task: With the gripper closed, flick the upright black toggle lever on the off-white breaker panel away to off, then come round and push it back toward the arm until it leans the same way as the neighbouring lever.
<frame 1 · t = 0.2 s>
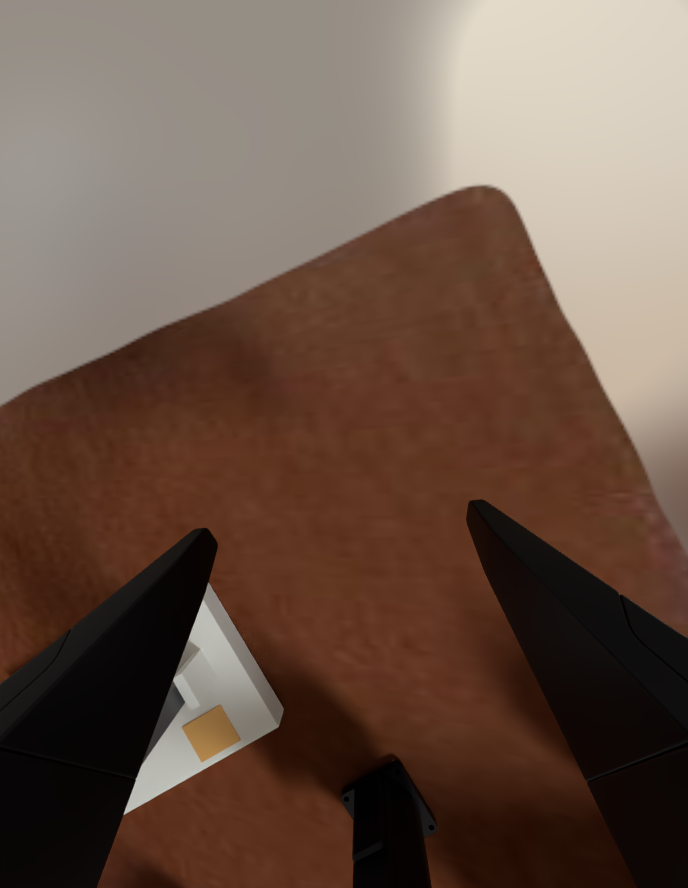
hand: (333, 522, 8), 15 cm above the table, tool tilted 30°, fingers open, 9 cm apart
breaker panel: (145, 694, 25), on the table
breaker lever: (138, 735, 19), point 6 cm above the table, hinge at 0.0°
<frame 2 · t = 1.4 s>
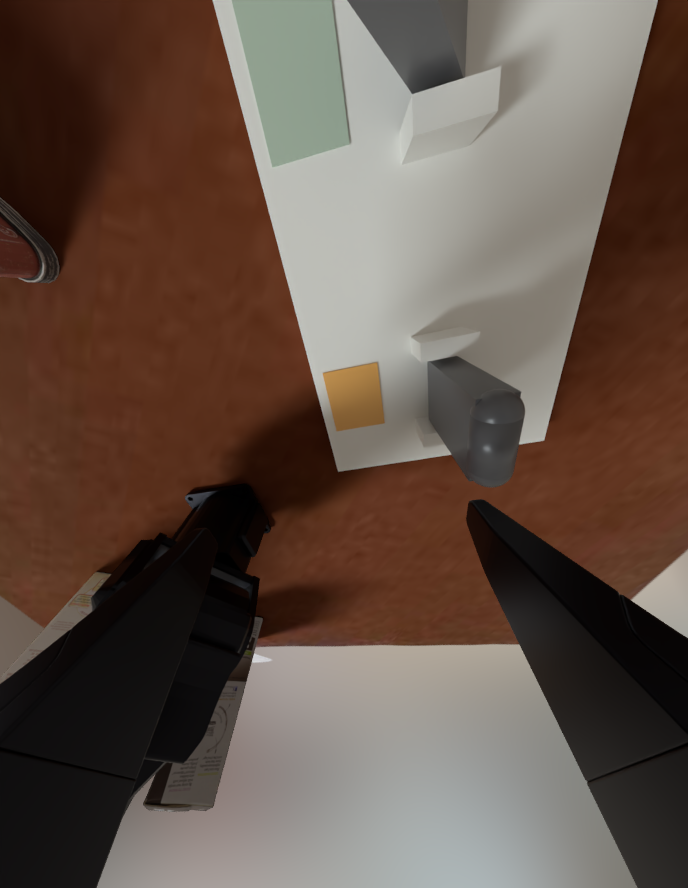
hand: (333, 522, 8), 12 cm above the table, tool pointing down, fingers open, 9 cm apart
breaker panel: (427, 280, 15), on the table
coffeecake box: (135, 602, 35), on the table
breaker lever: (461, 410, 13), point 6 cm above the table, hinge at 0.0°
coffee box: (238, 624, 39), on the table
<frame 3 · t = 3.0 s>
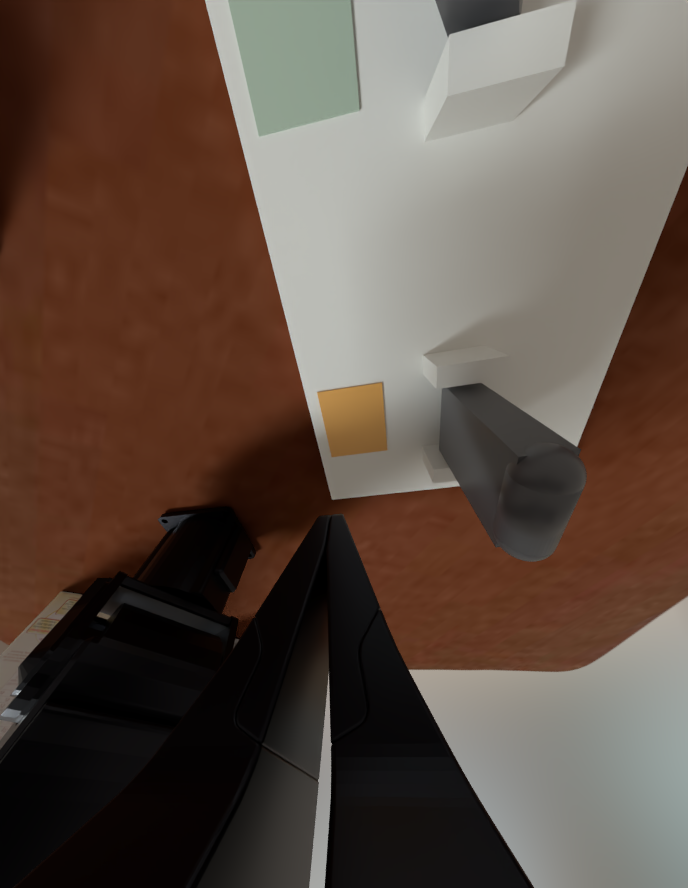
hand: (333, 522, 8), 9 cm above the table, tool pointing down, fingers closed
breaker panel: (445, 288, 12), on the table
coffeecake box: (107, 621, 32), on the table
breaker lever: (484, 450, 10), point 6 cm above the table, hinge at 0.0°
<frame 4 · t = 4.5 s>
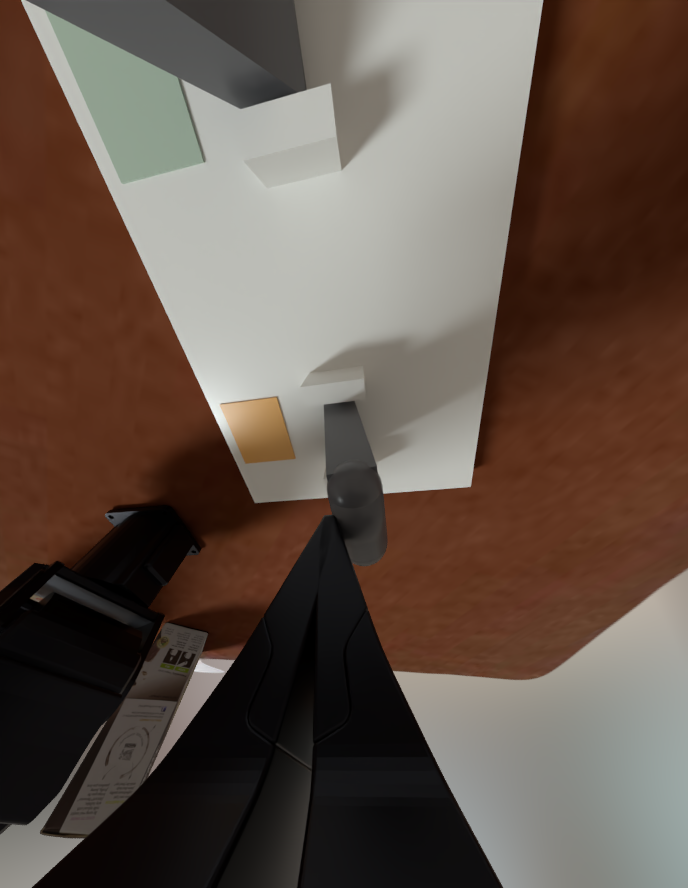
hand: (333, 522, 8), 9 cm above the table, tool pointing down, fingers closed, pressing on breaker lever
breaker panel: (329, 312, 13), on the table
breaker lever: (349, 464, 11), point 6 cm above the table, hinge at 8.1°, touching gripper
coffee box: (185, 636, 38), on the table
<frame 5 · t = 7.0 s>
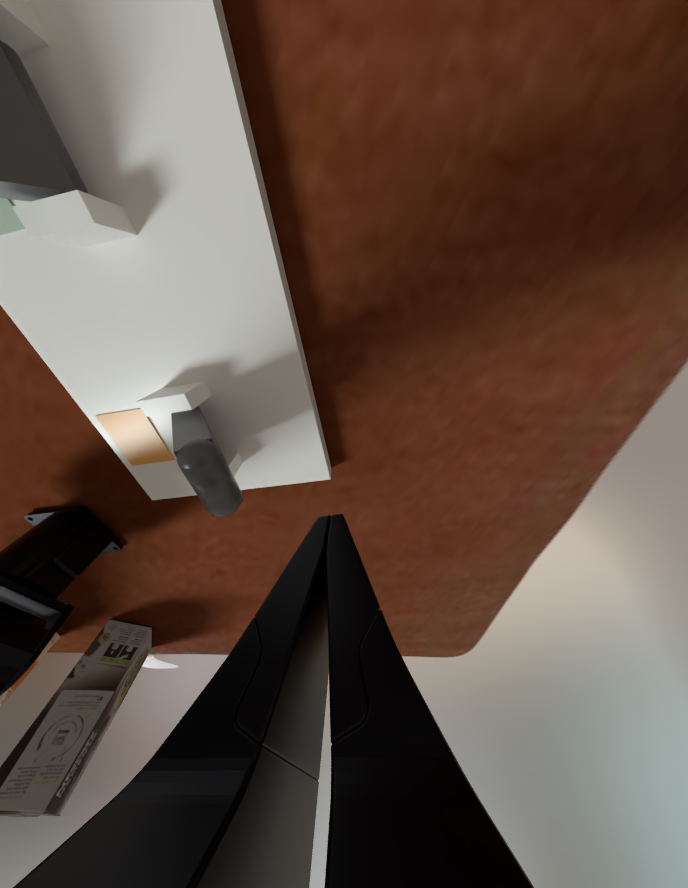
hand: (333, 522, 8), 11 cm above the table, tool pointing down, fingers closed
breaker panel: (176, 337, 16), on the table
coffeecake box: (22, 610, 36), on the table
breaker lever: (204, 454, 14), point 5 cm above the table, hinge at 34.5°
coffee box: (132, 633, 40), on the table
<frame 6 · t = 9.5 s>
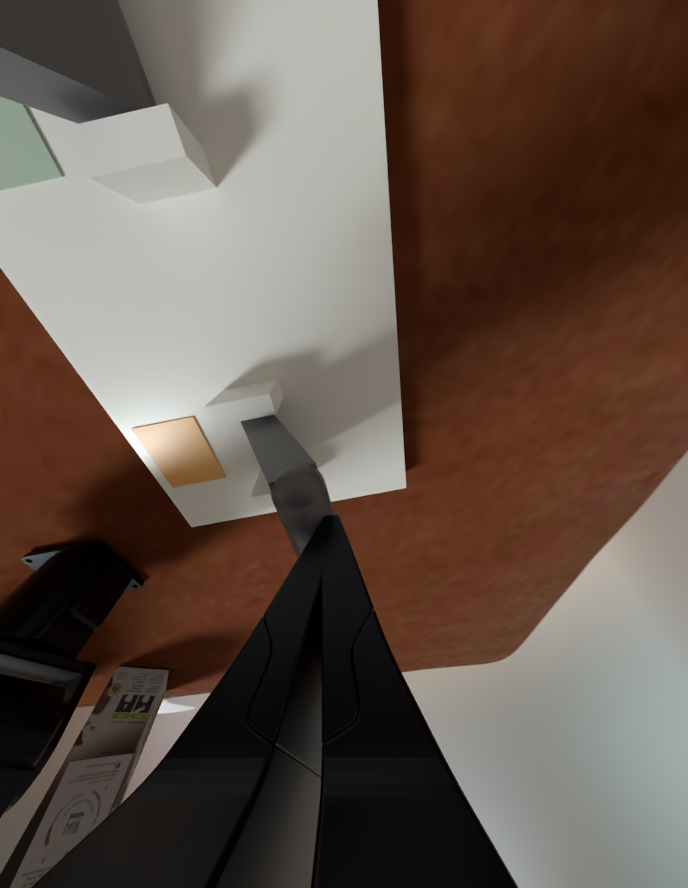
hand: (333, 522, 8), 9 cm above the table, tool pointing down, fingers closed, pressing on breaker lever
breaker panel: (238, 326, 13), on the table
breaker lever: (283, 474, 11), point 6 cm above the table, hinge at 24.6°, touching gripper
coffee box: (144, 678, 34), on the table
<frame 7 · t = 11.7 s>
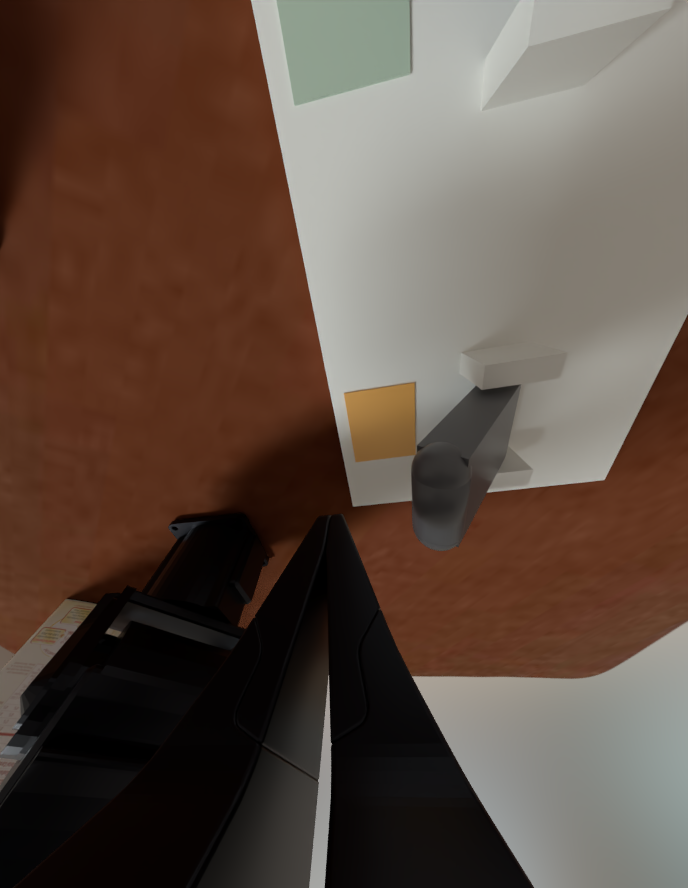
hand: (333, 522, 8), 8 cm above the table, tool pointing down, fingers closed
breaker panel: (486, 280, 11), on the table
coffeecake box: (112, 628, 32), on the table
breaker lever: (470, 453, 10), point 5 cm above the table, hinge at -40.6°
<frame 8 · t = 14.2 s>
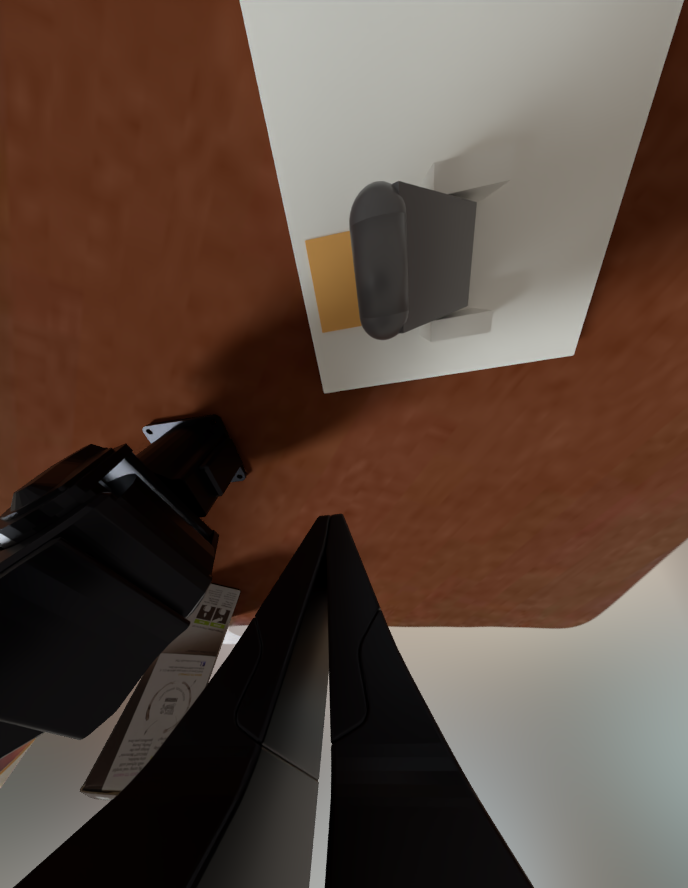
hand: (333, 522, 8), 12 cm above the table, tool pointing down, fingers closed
breaker panel: (443, 108, 11), on the table
coffeecake box: (96, 568, 32), on the table
breaker lever: (423, 266, 10), point 5 cm above the table, hinge at -40.8°
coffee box: (214, 598, 35), on the table
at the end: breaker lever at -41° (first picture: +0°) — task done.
